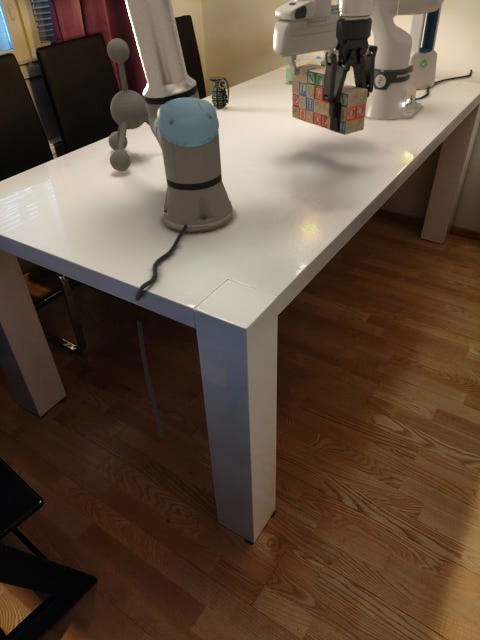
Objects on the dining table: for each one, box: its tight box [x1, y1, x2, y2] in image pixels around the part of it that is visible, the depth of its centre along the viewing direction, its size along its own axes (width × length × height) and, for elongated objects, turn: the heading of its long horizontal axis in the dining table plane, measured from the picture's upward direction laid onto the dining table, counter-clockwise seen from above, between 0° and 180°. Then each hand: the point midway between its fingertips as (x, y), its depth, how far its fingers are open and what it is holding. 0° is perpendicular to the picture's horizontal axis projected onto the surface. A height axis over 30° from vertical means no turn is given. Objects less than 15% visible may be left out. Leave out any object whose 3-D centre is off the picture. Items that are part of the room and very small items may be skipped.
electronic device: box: [409, 4, 443, 90], centre depth 178 cm, size 12×8×30 cm, turn 105°
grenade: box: [208, 76, 230, 110], centre depth 174 cm, size 7×6×10 cm
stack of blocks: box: [291, 64, 368, 136], centre depth 121 cm, size 21×6×12 cm, turn 32°
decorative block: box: [285, 55, 325, 82], centre depth 205 cm, size 26×6×20 cm
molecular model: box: [106, 37, 150, 172], centre depth 131 cm, size 24×22×30 cm
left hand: (345, 127), depth 119 cm, fingers closed on stack of blocks, 6 cm apart
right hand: (309, 72), depth 123 cm, fingers open, 8 cm apart
